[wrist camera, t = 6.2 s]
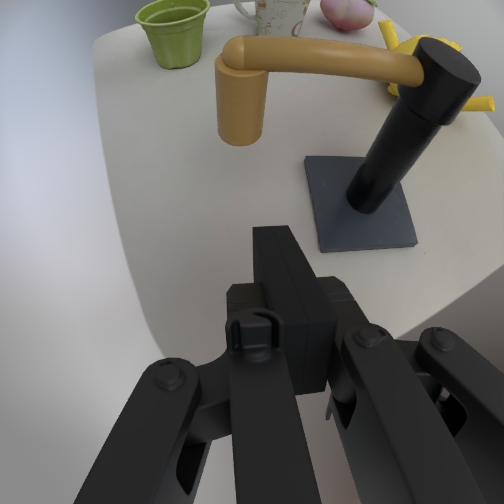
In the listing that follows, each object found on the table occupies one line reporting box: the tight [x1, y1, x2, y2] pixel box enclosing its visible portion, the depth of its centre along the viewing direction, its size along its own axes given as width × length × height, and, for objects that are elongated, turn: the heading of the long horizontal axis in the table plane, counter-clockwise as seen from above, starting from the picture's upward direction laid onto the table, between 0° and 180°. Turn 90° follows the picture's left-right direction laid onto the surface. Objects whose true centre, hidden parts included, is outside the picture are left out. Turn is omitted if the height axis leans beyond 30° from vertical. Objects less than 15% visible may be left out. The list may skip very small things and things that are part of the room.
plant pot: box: [135, 0, 210, 69], centre depth 33 cm, size 9×9×9 cm
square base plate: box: [304, 95, 442, 253], centre depth 23 cm, size 10×10×14 cm
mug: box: [233, 0, 310, 37], centre depth 35 cm, size 8×13×10 cm, turn 60°
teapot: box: [378, 20, 495, 111], centre depth 32 cm, size 20×18×11 cm
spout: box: [215, 36, 481, 146], centre depth 16 cm, size 16×4×8 cm, turn 95°
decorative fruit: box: [320, 0, 377, 30], centre depth 38 cm, size 9×8×10 cm
